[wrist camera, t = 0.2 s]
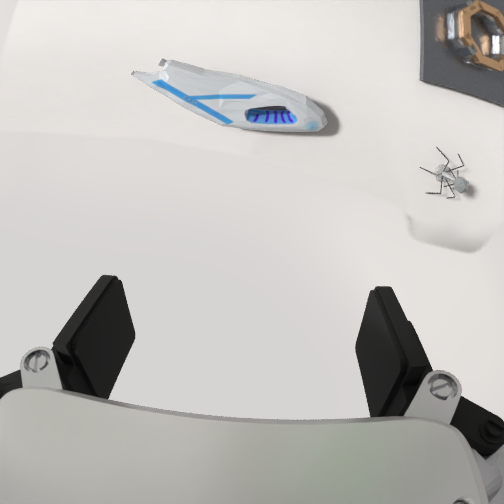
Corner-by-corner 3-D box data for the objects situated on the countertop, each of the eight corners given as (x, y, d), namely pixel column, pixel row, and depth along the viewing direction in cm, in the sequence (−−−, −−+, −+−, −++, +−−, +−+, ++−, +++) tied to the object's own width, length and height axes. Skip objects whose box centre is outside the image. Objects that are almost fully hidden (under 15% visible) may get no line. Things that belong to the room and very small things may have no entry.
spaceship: (315, 157, 37) (312, 138, 39) (339, 114, 32) (334, 97, 34) (125, 106, 32) (138, 90, 35) (131, 56, 27) (145, 45, 30)
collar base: (416, -36, 23) (429, -45, 20) (513, 7, 23) (529, 5, 19) (419, 79, 32) (434, 80, 28) (515, 110, 31) (532, 115, 27)
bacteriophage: (456, 200, 39) (479, 218, 34) (412, 190, 39) (433, 208, 34) (468, 156, 36) (494, 169, 30) (423, 142, 36) (447, 153, 30)
